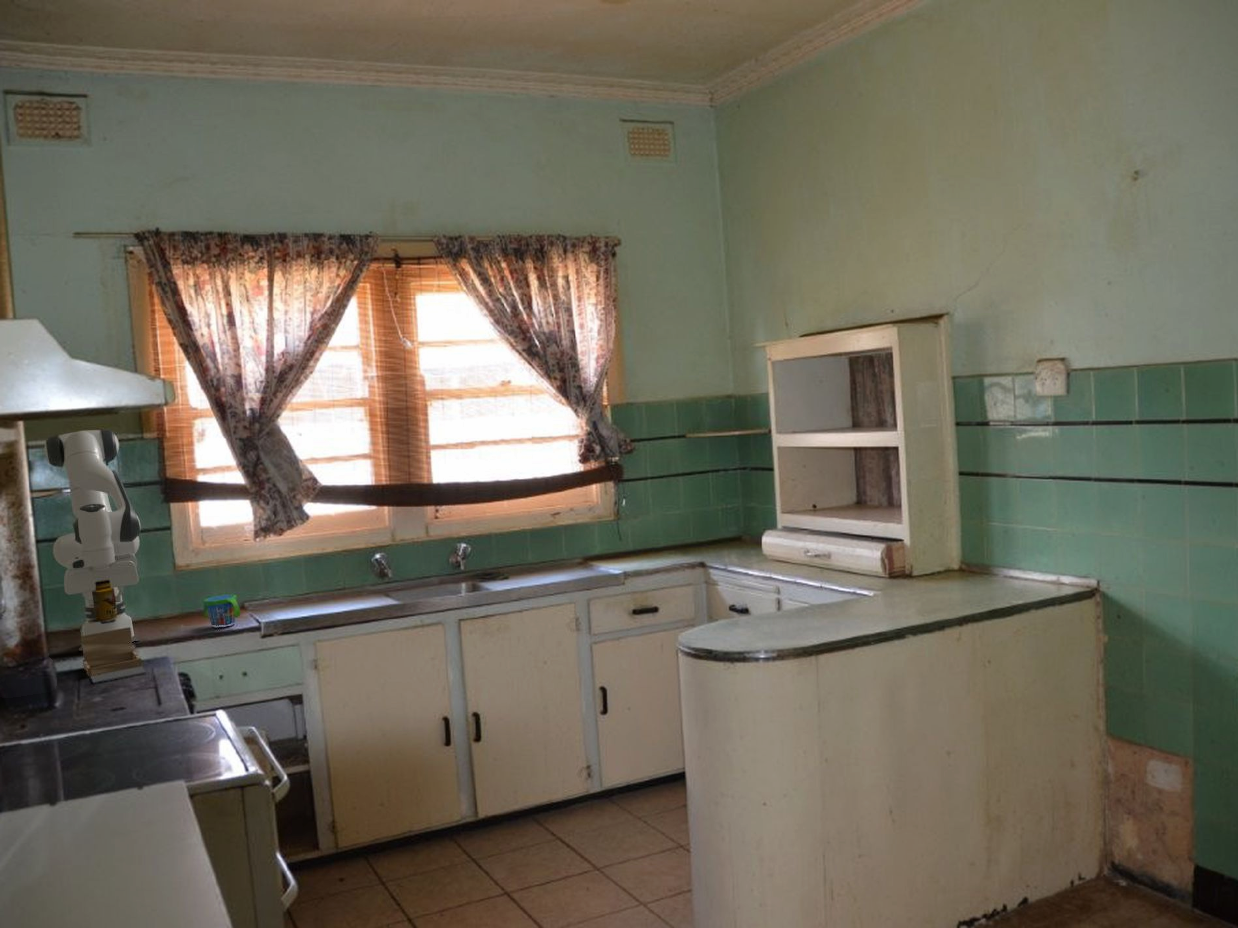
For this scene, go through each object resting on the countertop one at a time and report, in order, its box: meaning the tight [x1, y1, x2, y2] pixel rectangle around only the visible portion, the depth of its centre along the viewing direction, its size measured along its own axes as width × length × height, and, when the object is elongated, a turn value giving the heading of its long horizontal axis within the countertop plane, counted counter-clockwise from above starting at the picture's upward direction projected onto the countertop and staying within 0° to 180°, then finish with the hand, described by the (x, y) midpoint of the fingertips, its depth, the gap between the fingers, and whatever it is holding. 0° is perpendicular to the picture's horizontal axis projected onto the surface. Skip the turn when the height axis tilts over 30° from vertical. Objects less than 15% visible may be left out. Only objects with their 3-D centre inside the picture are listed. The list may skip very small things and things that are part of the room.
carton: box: [80, 627, 143, 677], centre depth 333 cm, size 16×15×10 cm
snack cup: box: [203, 594, 241, 626], centre depth 382 cm, size 16×10×10 cm
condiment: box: [86, 580, 120, 624], centre depth 331 cm, size 7×8×12 cm
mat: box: [89, 665, 147, 684], centre depth 321 cm, size 9×14×1 cm, turn 121°
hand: (104, 603), depth 332 cm, fingers closed on condiment, 6 cm apart
